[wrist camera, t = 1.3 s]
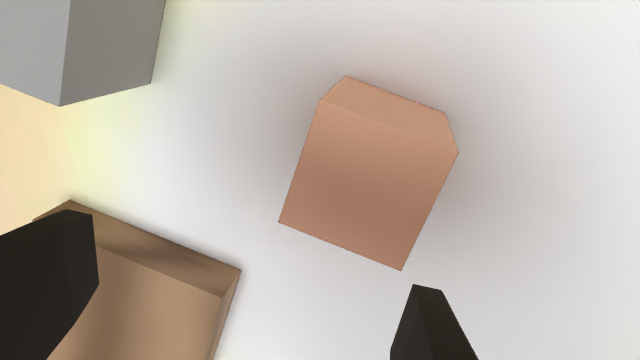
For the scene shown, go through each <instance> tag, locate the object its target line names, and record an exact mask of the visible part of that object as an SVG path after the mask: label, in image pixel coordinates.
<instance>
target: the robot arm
mask: <svg viewBox="0 0 640 360" xmlns="http://www.w3.org/2000/svg"><path fill="white" fill-rule="evenodd" d="M98 286H99V274H98V265H97V255H96V245H95V236H94V226H93V216H92V214H87V213H83V212H78V211H74V210H69V209H65V210H62V211H59V212H56V213H53V214H51V215H48V216H46V217H43V218H41V219H38V220H36V221H34V222H31V223H29V224H26V225H24V226H22V227H19V228H17V229H15V230H12V231H10V232H8V233H5V234H3V235H1V236H0V360H46V359H47V358H48V357H49V356H50V354H51V353H52V352H53V351H54V349H55V348H56V347H57V346H58V344H59V343H60V342H61V341H62V339H63V338H64V337H65V336H66V335H67V333H68V332H69V331H70V329H71V328H72V327H73V326H74V324H75V323H76V321H77V320H78V318H79V317H80V315H81V314H82V312H83V311H84V309H85V307H86V306H87V304H88V303H89V301H90V299H91V297H92V296H93V294H94V292H95V291H96V289H97V287H98ZM390 360H479V359H478V358H477V356H476V354H475V352H474V350H473V349H472V347H471V345H470V343H469V341H468V340H467V338H466V336H465V334H464V332H463V330H462V328H461V326H460V325H459V323H458V321H457V319H456V317H455V315H454V313H453V311H452V309H451V307H450V305H449V303H448V301H447V299H446V297H445V295H444V294H443V292H442V291H441V290H438V289H434V288H429V287H424V286H420V285H415V284H413V286H412V288H411V291H410V294H409V297H408V300H407V303H406V306H405V309H404V312H403V315H402V318H401V320H400V323H399V326H398V329H397V332H396V335H395V338H394V341H393V344H392V347H391V351H390Z"/></svg>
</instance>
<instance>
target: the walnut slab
mask: <svg viewBox="0 0 640 360" xmlns="http://www.w3.org/2000/svg"><path fill="white" fill-rule="evenodd" d="M65 209H69V210H74V211H78V212H83V213H87V214H92V216H93V226H94V236H95V245H96V255H97V265H98V274H99V286H98V287H97V289H96V291H95V292H94V294H93V296H92V297H91V299H90V301H89V303H88V304H87V306H86V307H85V309H84V311H83V312H82V314H81V315H80V317H79V318H78V320H77V321H76V323H75V324H74V326H73V327H72V328H71V329H70V331H69V332H68V333H67V335H66V336H65V337H64V338H63V339H62V341H61V342H60V343H59V344H58V346H57V347H56V348H55V349H54V351H53V352H52V353H51V354H50V356H49V357H48V358H47V359H46V360H213V358H214V355H215V351H216V348H217V345H218V342H219V339H220V336H221V333H222V330H223V326H224V323H225V320H226V317H227V314H228V311H229V308H230V305H231V301H232V298H233V295H234V292H235V289H236V286H237V283H238V280H239V276H240V273H241V270H240V269H237V268H235V267H232V266H230V265H228V264H225V263H223V262H220V261H218V260H215V259H213V258H210V257H208V256H206V255H203V254H201V253H198V252H196V251H193V250H191V249H188V248H186V247H184V246H181V245H179V244H176V243H174V242H171V241H169V240H166V239H164V238H162V237H159V236H157V235H154V234H152V233H149V232H147V231H144V230H142V229H140V228H137V227H135V226H132V225H130V224H127V223H125V222H122V221H120V220H118V219H115V218H113V217H110V216H108V215H105V214H103V213H100V212H98V211H96V210H93V209H91V208H88V207H86V206H83V205H81V204H78V203H76V202H74V201H71V200H68V201H67V202H65V203H63V204H61V205H59V206H57V207H55V208H53V209H52V210H50V211H48V212H46V213H44V214H42V215H40V216H38V217H37V218H35V219H33V221H32V222H34V221H36V220H38V219H41V218H43V217H46V216H48V215H51V214H53V213H56V212H59V211H62V210H65Z"/></svg>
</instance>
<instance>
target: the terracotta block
mask: <svg viewBox="0 0 640 360" xmlns="http://www.w3.org/2000/svg"><path fill="white" fill-rule="evenodd" d="M458 153H459V152H458V149H457V146H456V143H455V141H454V138H453V135H452V132H451V129H450V126H449V123H448V120H447V118H446V115H445V113H443V112H440V111H438V110H435V109H432V108H430V107H427V106H424V105H422V104H419V103H416V102H414V101H411V100H408V99H406V98H403V97H400V96H398V95H395V94H393V93H390V92H387V91H385V90H382V89H379V88H377V87H374V86H371V85H369V84H366V83H363V82H361V81H358V80H355V79H353V78H350V77H347V76H345V77H344V78H343V79H342V80H340V81H339V82H338V83H337V84H336V85H335V86H334V87H333V88H332V89H331V90H329V91H328V92H327V93H326V94H325V95H324V96H323V97H322V98H321V99H320V100H319V103H318V106H317V109H316V112H315V114H314V117H313V120H312V123H311V126H310V129H309V132H308V135H307V138H306V141H305V144H304V147H303V150H302V153H301V156H300V159H299V162H298V165H297V168H296V170H295V173H294V176H293V179H292V182H291V185H290V188H289V191H288V194H287V197H286V200H285V203H284V206H283V209H282V212H281V215H280V218H279V221H278V222H279V223H281V224H284V225H286V226H289V227H291V228H294V229H296V230H299V231H301V232H304V233H306V234H309V235H311V236H314V237H316V238H319V239H321V240H324V241H326V242H329V243H331V244H334V245H336V246H339V247H341V248H344V249H346V250H349V251H351V252H354V253H356V254H359V255H361V256H364V257H366V258H369V259H371V260H374V261H376V262H379V263H381V264H384V265H386V266H389V267H391V268H394V269H396V270H399V271H401V270H402V268H403V266H404V264H405V262H406V260H407V258H408V256H409V254H410V252H411V250H412V248H413V246H414V244H415V241H416V239H417V237H418V235H419V233H420V231H421V229H422V227H423V225H424V223H425V221H426V219H427V217H428V215H429V213H430V211H431V208H432V206H433V204H434V202H435V200H436V198H437V196H438V194H439V192H440V190H441V188H442V186H443V184H444V182H445V180H446V178H447V176H448V173H449V171H450V169H451V167H452V165H453V163H454V161H455V159H456V157H457V155H458Z"/></svg>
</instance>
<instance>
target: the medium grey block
mask: <svg viewBox="0 0 640 360" xmlns="http://www.w3.org/2000/svg"><path fill="white" fill-rule="evenodd" d="M165 3H166V0H0V84H2V85H5V86H7V87H10V88H13V89H15V90H18V91H20V92H23V93H25V94H28V95H30V96H33V97H35V98H38V99H40V100H43V101H46V102H48V103H51V104H53V105H56V106H58V107H60V106H64V105H68V104H72V103H76V102H80V101H84V100H88V99H92V98H96V97H100V96H104V95H108V94H112V93H116V92H119V91H123V90H127V89H131V88H135V87H139V86H143V85H147V84H150V83H151V78H152V73H153V67H154V62H155V57H156V51H157V46H158V40H159V35H160V30H161V24H162V19H163V14H164V8H165Z"/></svg>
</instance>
